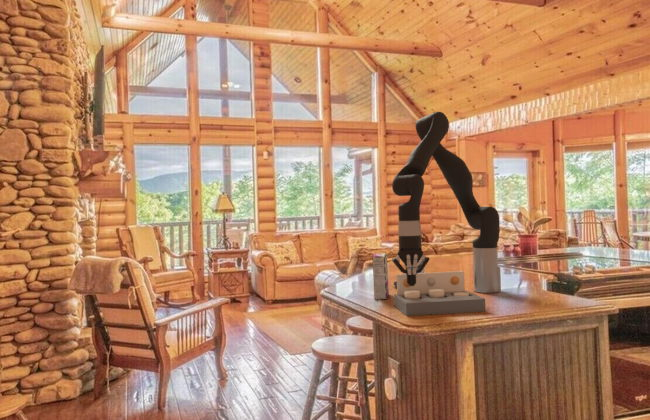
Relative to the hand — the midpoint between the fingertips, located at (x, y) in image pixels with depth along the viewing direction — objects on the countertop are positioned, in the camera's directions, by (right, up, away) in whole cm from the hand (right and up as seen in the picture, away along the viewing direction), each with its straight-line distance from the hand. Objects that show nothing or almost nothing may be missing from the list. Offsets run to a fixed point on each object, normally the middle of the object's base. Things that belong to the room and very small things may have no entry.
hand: (411, 285), depth 161 cm
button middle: (+9, -5, +1) cm, 10 cm away
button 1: (0, -5, 0) cm, 5 cm away
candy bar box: (-7, -8, +23) cm, 26 cm away
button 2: (+17, -6, +2) cm, 18 cm away
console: (+9, -8, 0) cm, 12 cm away
